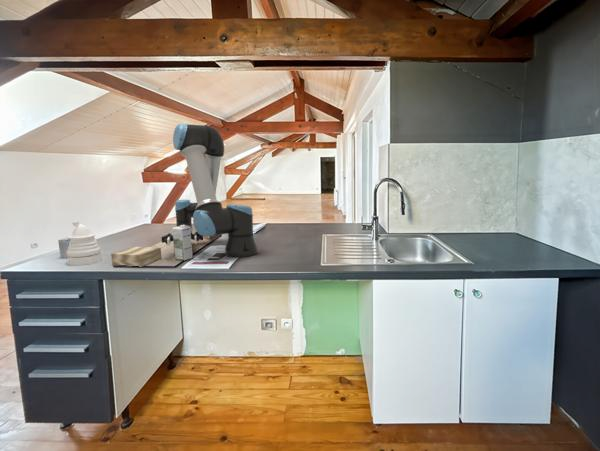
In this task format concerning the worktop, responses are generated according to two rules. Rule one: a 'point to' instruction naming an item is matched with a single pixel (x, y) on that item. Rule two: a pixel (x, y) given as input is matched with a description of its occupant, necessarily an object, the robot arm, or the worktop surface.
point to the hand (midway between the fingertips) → (182, 241)
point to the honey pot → (83, 246)
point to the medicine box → (63, 247)
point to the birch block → (136, 256)
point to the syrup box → (182, 242)
